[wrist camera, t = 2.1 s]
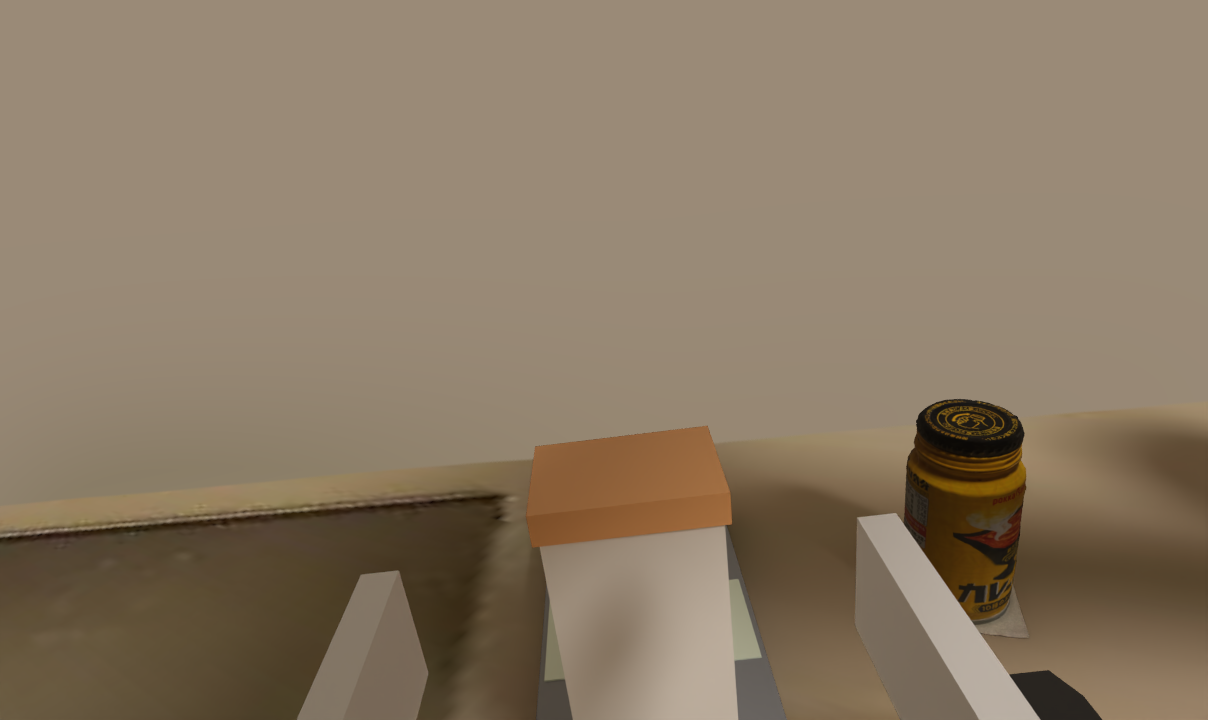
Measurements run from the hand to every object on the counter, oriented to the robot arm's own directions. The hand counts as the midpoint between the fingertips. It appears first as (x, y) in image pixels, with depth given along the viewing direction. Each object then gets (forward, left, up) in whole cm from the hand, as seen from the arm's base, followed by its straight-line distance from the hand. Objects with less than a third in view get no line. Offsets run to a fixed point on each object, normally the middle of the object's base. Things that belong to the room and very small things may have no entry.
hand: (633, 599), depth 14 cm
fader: (-5, -8, -19) cm, 21 cm away
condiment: (-27, -11, -22) cm, 37 cm away
